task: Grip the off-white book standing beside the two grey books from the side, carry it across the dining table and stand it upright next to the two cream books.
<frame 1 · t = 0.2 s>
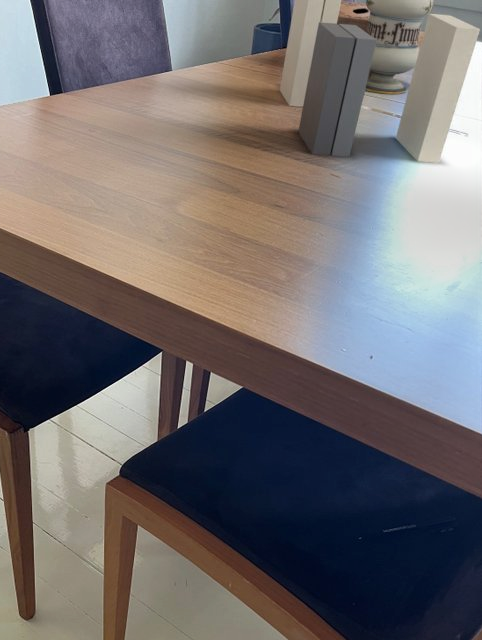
white book: (414, 156, 105), on the table
grey books: (321, 149, 104), on the table
white books: (299, 99, 128), on the table
tissue box cover: (348, 65, 156), on the table
apothecary jar: (379, 89, 140), on the table
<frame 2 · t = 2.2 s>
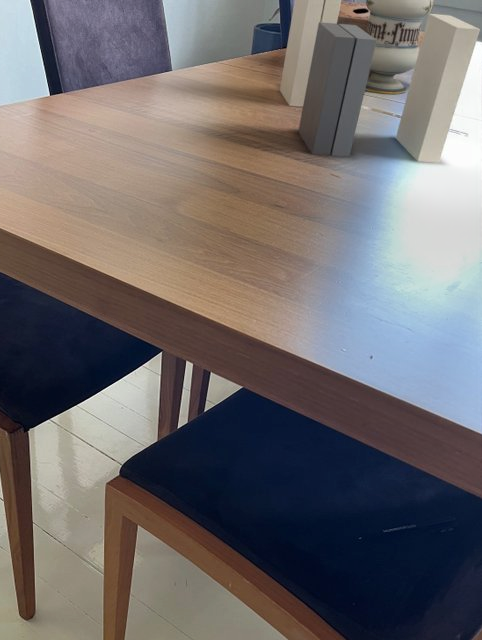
nothing on the table moved.
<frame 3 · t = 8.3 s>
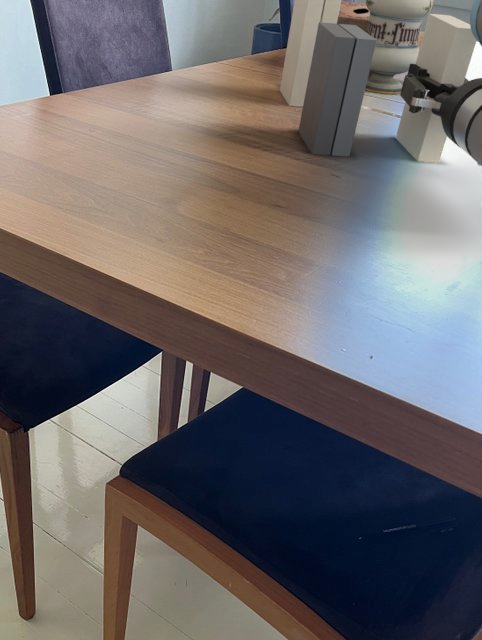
hand: (423, 75, 104), 10 cm above the table, tool horizontal, fingers closed on white book, 3 cm apart
white book: (414, 156, 105), on the table, touching gripper
everything else where it was.
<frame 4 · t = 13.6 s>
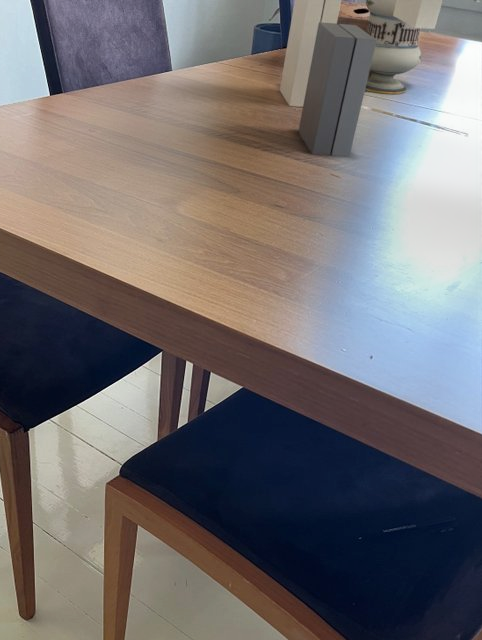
white book: (413, 22, 110), point 14 cm above the table, touching gripper
everything else where it was.
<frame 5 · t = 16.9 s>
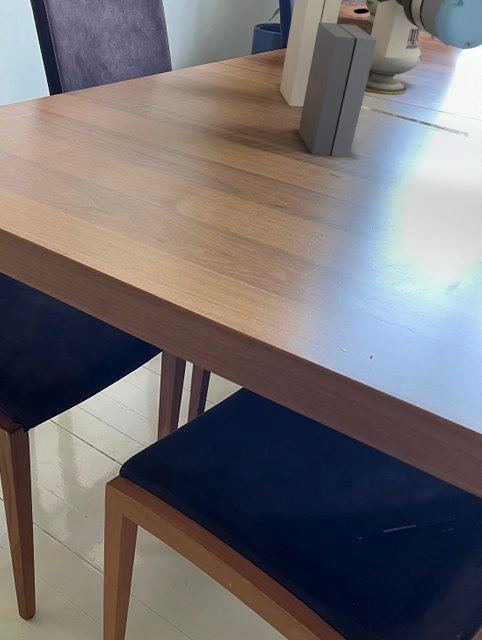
white book: (385, 51, 124), point 8 cm above the table, touching gripper
everything else where it was.
when the fingers open (9 cm above the table, at t = 19.3 s): white book stays where it is, on the table.
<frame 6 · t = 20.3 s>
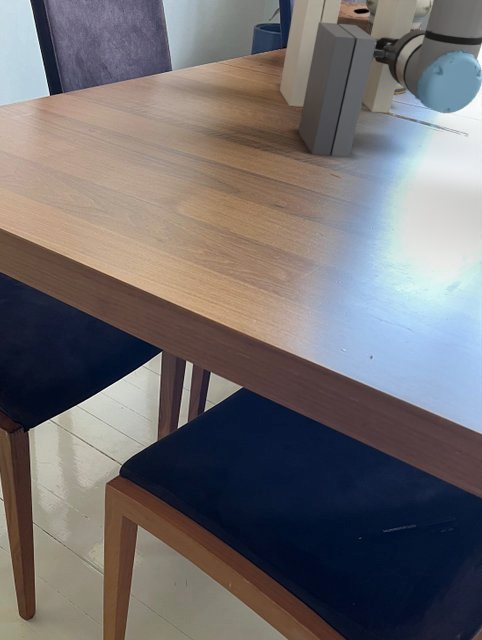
hand: (382, 37, 125), 10 cm above the table, tool horizontal, fingers open, 13 cm apart
white book: (372, 104, 129), on the table
everything else where it was.
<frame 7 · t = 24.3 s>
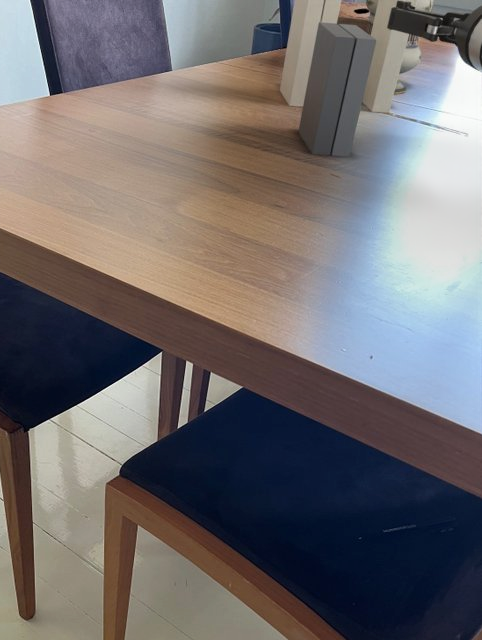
hand: (442, 14, 108), 16 cm above the table, tool horizontal, fingers open, 13 cm apart
nothing on the table moved.
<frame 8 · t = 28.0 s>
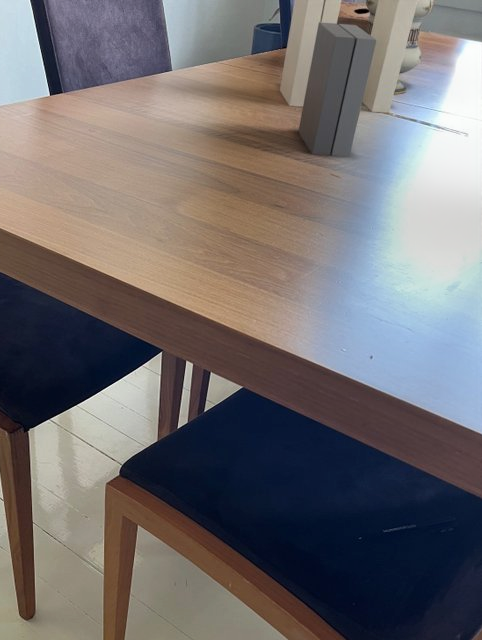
nothing on the table moved.
at the end: white book inside the target area on the table beside the white books (0.1 cm from its centre), on the table; white book tilted 0°; the gripper is holding nothing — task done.
